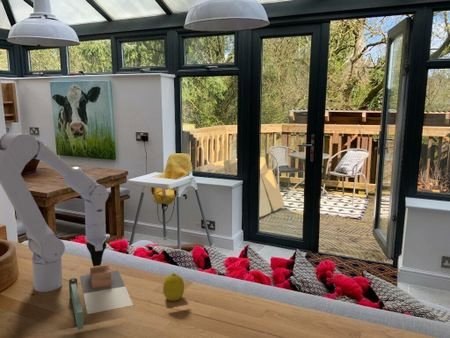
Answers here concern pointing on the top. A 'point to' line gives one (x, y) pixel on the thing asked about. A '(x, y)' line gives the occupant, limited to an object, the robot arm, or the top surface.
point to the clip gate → (77, 306)
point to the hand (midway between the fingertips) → (96, 265)
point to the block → (100, 276)
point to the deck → (105, 294)
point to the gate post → (71, 281)
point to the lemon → (173, 287)
